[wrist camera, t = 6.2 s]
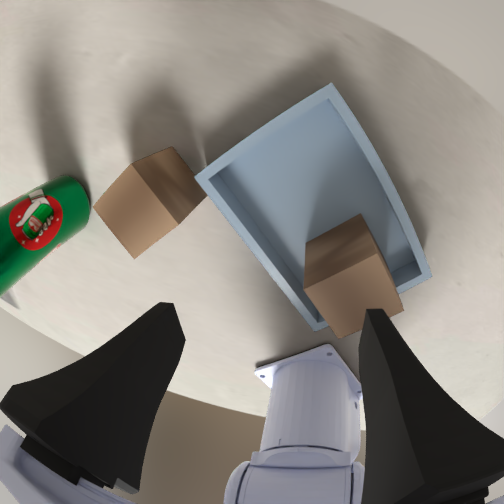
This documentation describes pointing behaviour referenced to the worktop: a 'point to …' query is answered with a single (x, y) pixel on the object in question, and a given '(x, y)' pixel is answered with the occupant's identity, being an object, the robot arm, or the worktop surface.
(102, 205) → the walnut block
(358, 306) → the walnut block
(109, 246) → the worktop surface
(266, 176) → the tray
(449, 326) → the worktop surface
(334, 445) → the robot arm
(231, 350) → the worktop surface
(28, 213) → the soda can
